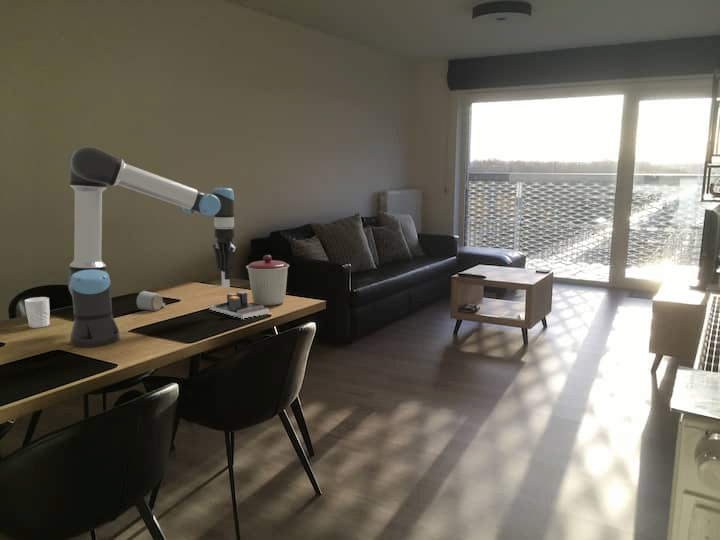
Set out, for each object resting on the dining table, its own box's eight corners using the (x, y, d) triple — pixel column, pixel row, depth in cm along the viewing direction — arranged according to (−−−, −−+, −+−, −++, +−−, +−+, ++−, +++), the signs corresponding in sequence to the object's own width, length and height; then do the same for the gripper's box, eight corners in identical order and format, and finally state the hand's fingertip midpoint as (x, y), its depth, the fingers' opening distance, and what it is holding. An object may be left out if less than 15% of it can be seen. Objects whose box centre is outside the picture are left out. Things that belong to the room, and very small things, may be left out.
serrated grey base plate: (242, 319, 218) (241, 301, 217) (209, 310, 232) (208, 294, 231) (269, 313, 228) (268, 296, 226) (235, 305, 242) (235, 289, 241)
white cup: (56, 323, 214) (53, 297, 212) (39, 329, 207) (36, 302, 205) (39, 322, 216) (36, 296, 214) (22, 327, 209) (19, 301, 207)
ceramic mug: (152, 312, 230) (151, 294, 228) (136, 311, 232) (135, 292, 231) (169, 307, 239) (169, 289, 238) (154, 306, 242) (153, 288, 241)
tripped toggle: (235, 310, 222) (234, 298, 221) (229, 309, 224) (228, 296, 223) (240, 309, 224) (240, 297, 223) (234, 308, 226) (234, 295, 225)
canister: (283, 308, 235) (281, 258, 231) (241, 307, 238) (239, 257, 234) (295, 299, 253) (293, 252, 249) (256, 298, 255) (254, 251, 252)
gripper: (242, 228, 220) (243, 288, 224) (222, 226, 229) (224, 283, 232) (226, 229, 214) (227, 290, 218) (206, 227, 223) (208, 286, 227)
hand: (225, 287), depth 225 cm, fingers closed
